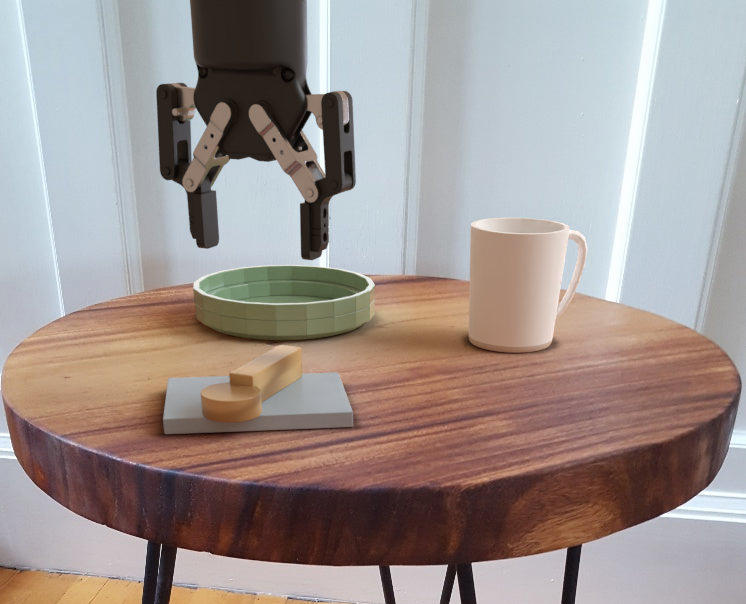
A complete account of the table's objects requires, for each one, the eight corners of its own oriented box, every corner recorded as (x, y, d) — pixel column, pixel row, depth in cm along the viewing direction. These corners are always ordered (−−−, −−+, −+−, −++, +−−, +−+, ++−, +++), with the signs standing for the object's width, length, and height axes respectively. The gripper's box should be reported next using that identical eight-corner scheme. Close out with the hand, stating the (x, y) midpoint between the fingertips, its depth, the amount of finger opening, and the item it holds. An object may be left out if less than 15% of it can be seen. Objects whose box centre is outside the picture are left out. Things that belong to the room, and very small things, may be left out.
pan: (195, 345, 90) (191, 306, 88) (197, 300, 105) (194, 266, 103) (385, 339, 92) (386, 302, 90) (361, 296, 107) (361, 263, 105)
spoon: (244, 426, 68) (242, 392, 67) (191, 417, 70) (187, 385, 68) (315, 378, 78) (315, 348, 77) (267, 372, 79) (266, 342, 78)
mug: (472, 355, 88) (480, 234, 82) (456, 330, 96) (462, 217, 90) (588, 353, 89) (604, 233, 83) (563, 328, 97) (577, 217, 91)
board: (164, 434, 70) (162, 419, 70) (169, 392, 78) (167, 377, 78) (353, 427, 72) (353, 411, 71) (338, 386, 80) (338, 372, 80)
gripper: (119, -23, 60) (147, 252, 69) (325, -21, 56) (327, 272, 65) (182, -17, 66) (200, 235, 75) (372, -15, 62) (368, 252, 71)
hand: (259, 252), depth 70 cm, fingers open, 8 cm apart
